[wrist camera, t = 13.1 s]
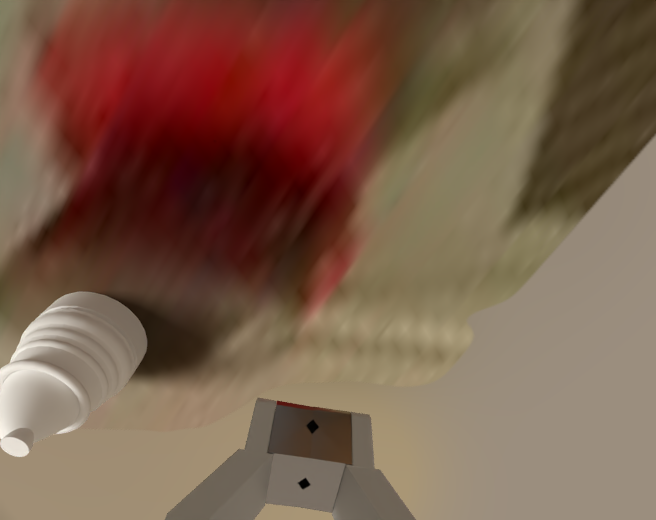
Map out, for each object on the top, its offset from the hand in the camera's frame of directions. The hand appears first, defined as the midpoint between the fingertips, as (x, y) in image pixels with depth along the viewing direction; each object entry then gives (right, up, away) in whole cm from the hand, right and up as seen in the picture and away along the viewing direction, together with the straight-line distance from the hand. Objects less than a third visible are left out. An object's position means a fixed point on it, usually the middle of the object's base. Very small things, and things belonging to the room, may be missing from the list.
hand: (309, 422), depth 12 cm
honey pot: (-29, -5, +45) cm, 54 cm away
